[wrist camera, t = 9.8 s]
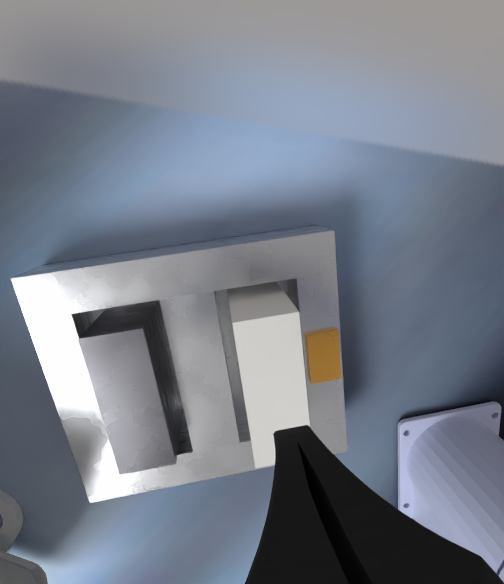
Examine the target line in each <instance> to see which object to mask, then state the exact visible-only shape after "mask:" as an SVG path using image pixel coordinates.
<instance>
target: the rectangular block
mask: <svg viewBox="0 0 504 584" xmlns="http://www.w3.org/2000/svg"><path fill="white" fill-rule="evenodd" d="M227 294H228V301H229V307H230V313H231V319H232V326H233V332H234V338H235V344H236V351H237V357H238V363H239V370H240V376H241V382H242V388H243V395H244V401H245V407H246V413H247V419H248V425H249V431H250V438H251V444H252V450H253V456H254V462H255V468H261V467H266V466H271V465H275V443H274V436H273V434H274V432H275V431H278V430H283V429H288V428H293V427H298V426H304V425H308V426H309V427H310V420H309V409H308V399H307V388H306V378H305V367H304V357H303V347H302V336H301V326H300V315H299V311H298V310H297V308H296V307H295V306H294V304H293V303H292V302H291V300H290V299H289V298H288V296H287V295H286V294H285V292H284V291H283V290H282V288H281V287H280V286H279V284H278V283H277V282H276V281H275V282H269V283H263V284H256V285H250V286H244V287H237V288H231V289H227Z"/></svg>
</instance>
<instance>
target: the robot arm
mask: <svg viewBox="0 0 504 584" xmlns="http://www.w3.org/2000/svg"><path fill="white" fill-rule="evenodd" d="M500 418H501V405H500V404H498V403H497V402H488V403H483V404H478V405H473V406H468V407H462V408H457V409H452V410H447V411H442V412H437V413H432V414H427V415H421V416H416V417H411V418H406V419H403V420H401V421H400V422H399V423H398V509H396V508H395V507H394V506H392V505H391V504H390V503H388V502H387V501H385V500H384V499H383V498H381V497H380V496H379V495H378V494H376V493H375V492H374V491H373V490H371V489H370V488H369V487H368V486H366V485H365V484H364V483H363V482H362V481H361V480H360V479H358V478H357V477H356V476H355V475H354V474H353V473H352V472H351V471H350V470H349V469H348V468H347V467H345V466H344V465H343V464H342V463H341V462H340V461H339V459H338V458H337V457H336V456H335V455H334V454H333V453H332V452H331V451H330V450H329V449H328V448H327V447H326V446H325V445H324V444H323V442H322V441H321V440H320V439H319V438H318V437H317V435H316V434H315V433H314V432H313V430H312V429H311V428H310V427H309V426H308V425H304V426H298V427H293V428H288V429H283V430H278V431H275V432H274V434H273V436H274V443H275V470H274V480H273V487H272V493H271V499H270V504H269V509H268V513H267V518H266V522H265V526H264V529H263V533H262V536H261V540H260V543H259V546H258V549H257V552H256V555H255V558H254V561H253V564H252V566H251V569H250V572H249V575H248V577H247V580H246V582H245V584H504V440H502V439H501V438H500V437H499V427H500ZM406 430H407V431H406ZM405 431H406V432H405ZM412 518H414V520H413V519H412Z"/></svg>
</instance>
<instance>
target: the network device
mask: <svg viewBox="0 0 504 584" xmlns="http://www.w3.org/2000/svg"><path fill="white" fill-rule="evenodd" d="M0 515H1V517H2V519H3V525H2V526H1V528H0V584H48V582H47V577H46V574H45V572H44V571H43V569H42V568H41V567H40V566H39V565H38V564H36V563H34V562H31V561H28V560H25V559H23V558H20V557H17V556H14V555H12V554H9V553H6V552H7V550H8V549H9V548H10V546H11V545H12V543H13V542H14V541H15V539H16V537H17V535H18V534H19V532H20V530H21V528H22V526H23V521H24V518H23V512H22V509H21V507H20V505H19V504H18V503H17V501H16V500H15V499H14V498H13V497H12V496H10V495H9V494H8V493H6V492H4V491H2V490H0Z"/></svg>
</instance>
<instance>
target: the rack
mask: <svg viewBox="0 0 504 584" xmlns="http://www.w3.org/2000/svg"><path fill="white" fill-rule="evenodd" d="M11 281H12V284H13V286H14V289H15V292H16V295H17V298H18V301H19V303H20V306H21V309H22V312H23V315H24V318H25V320H26V323H27V326H28V329H29V332H30V335H31V337H32V340H33V343H34V346H35V349H36V352H37V354H38V357H39V360H40V363H41V366H42V369H43V372H44V374H45V377H46V380H47V383H48V386H49V389H50V391H51V394H52V397H53V400H54V403H55V406H56V408H57V411H58V414H59V417H60V420H61V423H62V425H63V428H64V431H65V434H66V437H67V440H68V442H69V445H70V448H71V451H72V454H73V457H74V459H75V462H76V465H77V468H78V471H79V474H80V476H81V479H82V482H83V485H84V488H85V491H86V493H87V496H88V499H89V502H90V503H92V502H97V501H102V500H107V499H112V498H117V497H122V496H127V495H132V494H137V493H142V492H147V491H152V490H157V489H162V488H167V487H172V486H177V485H182V484H187V483H192V482H197V481H202V480H207V479H212V478H217V477H222V476H227V475H232V474H237V473H242V472H247V471H252V470H257V469H262V468H267V467H272V466H275V465H271V466H266V467H261V468H255V462H254V456H253V450H252V444H251V438H250V431H249V425H248V419H247V413H246V407H245V401H244V395H243V388H242V382H241V376H240V370H239V363H238V357H237V351H236V344H235V338H234V332H233V326H232V319H231V313H230V307H229V301H228V294H227V289H231V288H237V287H244V286H250V285H256V284H263V283H269V282H275V281H276V282H277V283H278V284H279V286H280V287H281V288H282V290H283V291H284V292H285V294H286V295H287V296H288V298H289V299H290V300H291V302H292V303H293V304H294V306H295V307H296V308H297V310H298V311H299V315H300V326H301V336H302V347H303V357H304V367H305V378H306V388H307V399H308V409H309V420H310V428H311V429H312V430H313V432H314V433H315V434H316V435H317V437H318V438H319V439H320V440H321V441H322V442H323V444H324V445H325V446H326V447H327V448H328V449H329V450H330V451H331V452H332V453H333V454H337V453H342V452H347V436H346V419H345V402H344V385H343V368H342V351H341V334H340V316H339V299H338V282H337V265H336V248H335V231H334V230H332V229H328V228H325V227H321V226H318V225H312V226H305V227H298V228H292V229H285V230H278V231H271V232H264V233H258V234H251V235H244V236H237V237H230V238H224V239H217V240H210V241H203V242H196V243H190V244H183V245H176V246H169V247H163V248H156V249H149V250H142V251H135V252H129V253H122V254H115V255H108V256H101V257H95V258H88V259H81V260H74V261H67V262H61V263H54V264H47V265H42V266H39V267H37V268H35V269H32V270H30V271H28V272H25V273H23V274H20V275H18V276H16V277H13V278H11Z"/></svg>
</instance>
